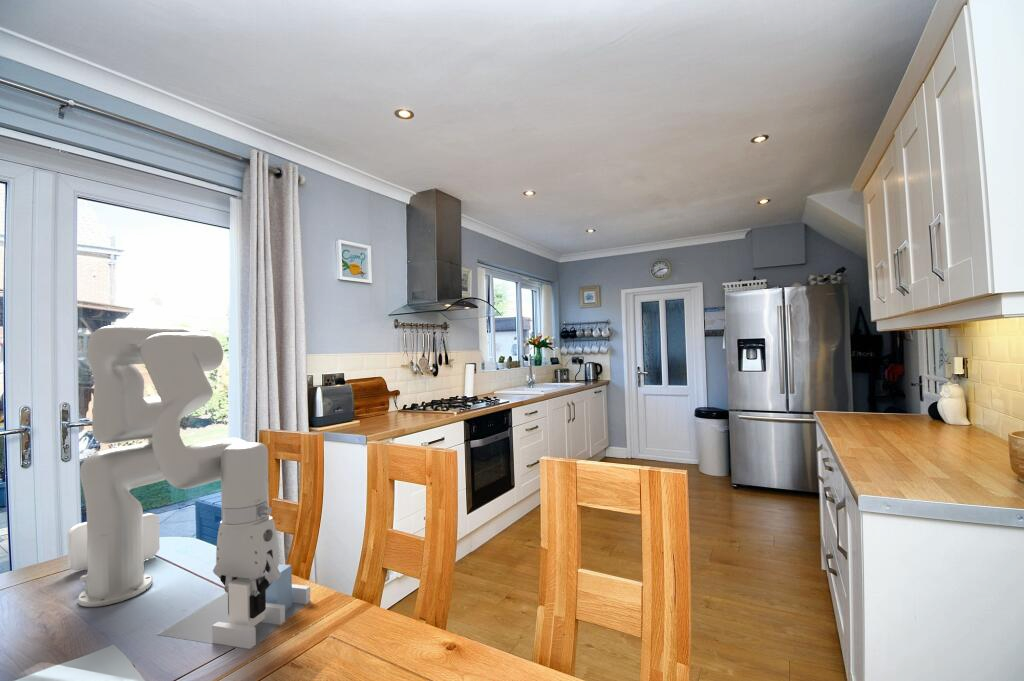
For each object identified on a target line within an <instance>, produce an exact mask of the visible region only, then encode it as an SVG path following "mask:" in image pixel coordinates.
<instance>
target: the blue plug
mask: <svg viewBox="0 0 1024 681" xmlns="http://www.w3.org/2000/svg"><path fill="white" fill-rule="evenodd" d="M277 568H278V570H279V571H280V573H281V577H280V578H278V579H277V580H275V581H274V582H272V584H271V585H270V586H269V588H268V589H266V603H273V604H280V605H285V611H286V610H287V609H288V608H290V607H291V606H292V584H293V581H292V578H293V575H292V574H293V573H292V572H293V571H292V564H283V563H282V564H281V563H279V564H278V567H277ZM267 577H268V573H267Z"/></svg>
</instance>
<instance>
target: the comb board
mask: <svg viewBox="0 0 1024 681" xmlns="http://www.w3.org/2000/svg"><path fill="white" fill-rule="evenodd" d="M311 601H312V600H311V586H310V585H302V584H295V583H292V606H291V607H290V608H288V609H287V610H286V611H285V605H280V604H273V603H266V609H265V619H263V620H262V621H261V622H259V623H258V624H257V625H255V626H254V627H251V626H244V625H237V624H230V623H229V615H228V593H227V592H225V593H223V594H221V595H220V596H219V597H217V598H215V599H214V600H212V601H209V603H207V604H206V605H204V606H202V607H201V608H198V609H197V610H196V611H194V612H192V613H191V614H189V615H188V616H186V617H185V618H183V619H181V620H180V621H178V622H176V623H174V624H173V625H171V626H170V627H168V628H166V629H165V630H163V631H162V632H160V633H158V634H157V636H160V637H166V638H167V637H168V638H173V639H179V640H187V641H192V642H198V643H203V644H210V645H211V644H212V645H217V646H222V647H223V646H225V647H229V648H236V649H240V650H242V649H243V650H248V651H250V650H251V649H252V648H254V647H255V646H256V645H257V644H259V643H260V642H262V641H263V640H264V639H265V638H266V637H267V636H269V635H270V634H271V633H272V632H274V631H275V630H276V629H277V628H279V627H281V625H283V624H284V623H285V622H286V621H288V620H290V618H291V617H293V616H294V615H295V614H296V613H297V612H299V611H300V610H301V609H303V608H304V607H305V606H307V604H309V603H310V602H311Z"/></svg>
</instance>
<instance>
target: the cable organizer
mask: <svg viewBox="0 0 1024 681" xmlns="http://www.w3.org/2000/svg"><path fill="white" fill-rule="evenodd" d="M159 551H160V517H159V515H158V514H155V513H151V512H148V513H143V555H144V560H146V559H149V558H150V559H151V558H153V557H154V556H156V555H157V554H158V553H159ZM150 559H149V560H150ZM67 566H68V568H69V569H70V570H74V571H88V561H87V521H85V522H80V523H77V524H75V525H74V526H72V527H71V528H70V529H69V530H68V531H67Z"/></svg>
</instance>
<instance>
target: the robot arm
mask: <svg viewBox="0 0 1024 681" xmlns="http://www.w3.org/2000/svg"><path fill="white" fill-rule="evenodd" d="M86 351H87V352H86V353H87V360H88V364H89V366H90V370H91V373H92V377H93V380H94V381H93V386H94V387H93V401H92V402H93V403H92V420H91V421H92V423H91V424H92V429H91V430H92V433H93V434H92V435H93V437H94V439H95V440H96V441H97V442H99V443H101V444H104V445H105V444H107V445H115V444H122V443H129V442H135V441H141V440H146V439H148V442H145V443H140V444H133V445H127V446H126V445H125V446H120V447H116V448H115V447H114V448H110V449H104V450H102V451H99V452H95V453H94V454H91V455H89V456H88V457H87V458H86V459H85V460H84V461H83V462H82V463H81V466H80V469H79V476H80V482H81V483H80V484H81V485H82V486H81V487H82V490H83V494H84V500H85V510H86V522H87V561H88V569H87V572H86V574H83V575H81V576H80V577H79V582H81V583H85V589H84V590H83V591H81V592H80V593H79V595H78V597H77V604H79V605H80V606H82V607H86V608H95V607H97V608H98V607H104V606H110V605H113V604H117V603H121V602H124V601H126V600H129V599H132V598H134V597H137V596H138V595H140V594H142V593H144V592H145V591H147V590H148V589H149V588H150V587H151V586H152V585H151V584H153V577H152V576H151V575H150V574H147V573H145V569H144V568H145V567H144V566H145V564H144V563H145V561H144V555H143V515H144V510H143V506H142V503H141V502H140V501H139V499H137V497H135V496H134V495H133V494H131V493H130V491H131V490H132V489H136V488H140V487H143V486H147V485H151V484H155V483H159V482H162V481H166V482H167V483H169V485H171V486H172V487H174V488H176V489H179V490H189V489H193V488H196V487H200V486H203V485H208V484H211V483H214V482H219V481H220V489H221V491H220V494H221V496H220V498H221V504H220V505H221V521H220V522H219V526H218V531H217V540H216V553H215V554H216V555H215V558H216V559H215V561H216V562H215V563H216V564H215V566H214V568H213V570H212V572H213V574H214V575H215V576H216V577H218V578H219V579H220V582H221V583H222V585H224V592H225V593H228V615H229V583H230V582H232V581H233V580H235V579H237V578H238V577H239V578H247V579H250V583H251V589H252V594H253V595H251V596H250V618H255V617H256V616H258V615H259V614H261V613H262V612H263V611H265V609H266V589H268V588H269V586H270V585H271V584H272V582H274V581H275V580H277V579H278V578H280V577H281V573H280V571H279V570H278V568H277V567H278V564H280V563H279V562H280V560H279V556H280V555H279V545H278V535H277V531H276V530H277V529H276V525H275V521H274V518H273V516H271V514H272V512H273V508H272V507H270V506H269V461H268V460H269V456H268V453H269V452H268V447H267V445H265V444H264V443H263V442H258V441H257V442H255V441H254V442H251V441H250V442H248V441H246V440H244V439H242V438H238V437H228V438H223V439H219V440H218V439H217V440H212V441H207V442H206V441H205V442H201V443H196V444H190V445H185V443H184V442H183V439H182V437H181V435H180V434H181V433H180V432H181V419H183V418H185V417H186V416H188V415H190V414H192V413H194V412H197V410H199V409H200V408H202V407H203V406H205V405H206V404H207V403H209V401H210V400H211V399H212V398H213V395H214V390H213V387H212V385H211V384H210V381H209V380H208V378H207V376H206V373H205V372H211V371H214V370H216V369H218V368H219V367H220V366H221V364H222V362H223V359H224V350H223V347H222V345H221V343H220V341H219V340H218V339H217V338H216V337H215V336H214V335H212V333H208V332H205V331H202V330H196V329H193V328H189V327H184V326H176V325H175V326H173V325H146V324H145V325H144V324H116V325H115V324H113V325H107V326H102V327H100V328H97V329H96V330H95V331H94V332H93V333H92V334H91V335H90V336H89V339H88V342H87V349H86ZM135 365H144V367H145V368H146V370H147V373H148V375H149V377H150V380H151V382H152V385H153V386H154V388H155V390H156V393H157V396H148V397H146V396H144V394H145V393H144V392H145V378H144V376H143V374H142V373H141V372H140V371H139V369H138V368H137V367H136V366H135ZM267 573H268V577H267ZM258 579H260V581H261V583H260V584H258ZM146 589H147V590H146Z"/></svg>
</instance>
